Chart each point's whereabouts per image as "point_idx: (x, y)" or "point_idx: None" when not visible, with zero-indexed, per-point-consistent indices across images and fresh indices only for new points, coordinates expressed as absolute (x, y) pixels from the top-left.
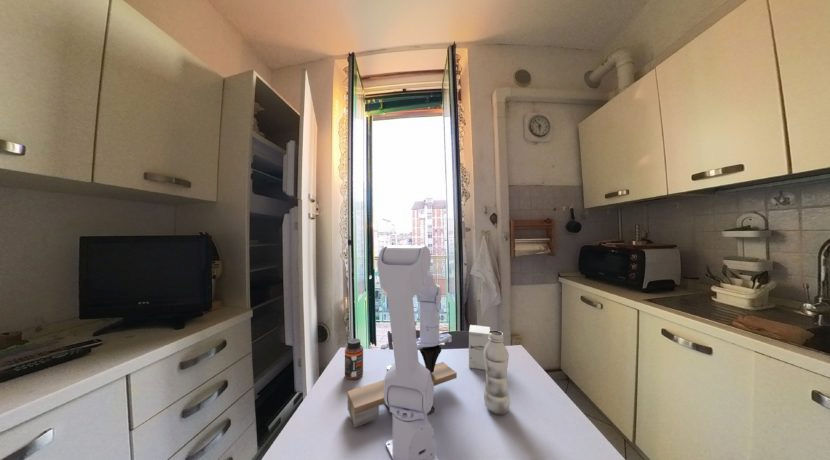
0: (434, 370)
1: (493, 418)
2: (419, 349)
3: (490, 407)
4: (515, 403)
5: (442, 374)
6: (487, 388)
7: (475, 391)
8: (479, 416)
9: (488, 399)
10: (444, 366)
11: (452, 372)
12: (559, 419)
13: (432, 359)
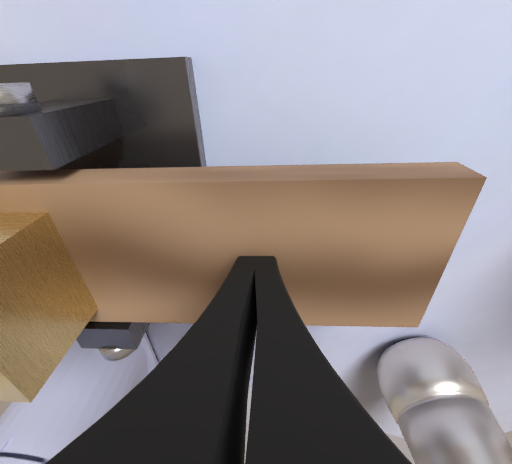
0: (311, 253)
1: (365, 362)
2: (72, 458)
3: (378, 379)
4: (482, 358)
5: (326, 307)
6: (410, 429)
7: (447, 275)
8: (339, 347)
9: (387, 397)
10: (423, 245)
11: (399, 317)
12: (492, 412)
13: (244, 433)
